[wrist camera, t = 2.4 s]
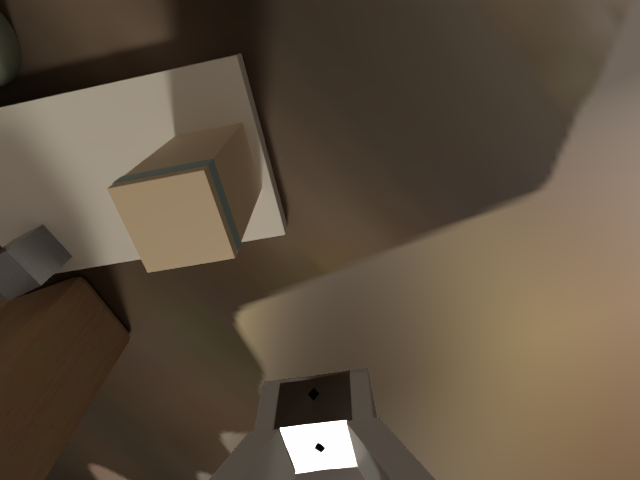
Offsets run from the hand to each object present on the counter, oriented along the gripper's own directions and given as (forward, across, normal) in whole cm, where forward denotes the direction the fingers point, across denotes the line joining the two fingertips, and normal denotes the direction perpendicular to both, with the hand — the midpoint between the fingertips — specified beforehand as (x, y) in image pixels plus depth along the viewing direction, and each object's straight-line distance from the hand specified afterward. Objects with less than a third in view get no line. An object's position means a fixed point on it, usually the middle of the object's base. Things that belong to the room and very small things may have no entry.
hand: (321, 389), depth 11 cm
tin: (+26, +30, +4) cm, 40 cm away
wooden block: (+28, +32, +14) cm, 45 cm away
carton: (+26, +9, 0) cm, 28 cm away
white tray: (+28, +19, 0) cm, 34 cm away
